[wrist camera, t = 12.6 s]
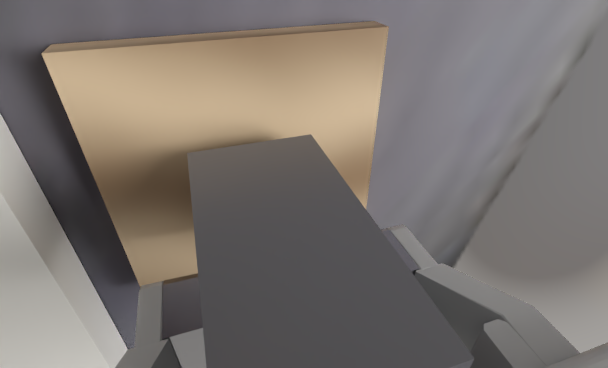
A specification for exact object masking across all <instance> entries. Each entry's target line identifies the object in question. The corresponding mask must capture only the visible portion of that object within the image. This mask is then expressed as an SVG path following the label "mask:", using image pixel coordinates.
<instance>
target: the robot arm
mask: <svg viewBox="0 0 608 368" xmlns="http://www.w3.org/2000/svg"><path fill="white" fill-rule="evenodd" d="M381 231H382V232H383V234H384V235H385V236H386V238H387V239H388V241H389V242H390V243H391V245H392V246H393V247H394V249H395V250H396V252H397V253H398V254H399V256H400V257H401V258H402V260H403V261H404V263H405V264H406V265H407V267H408V268H409V269H410V271H411V272H412V274H413V275H414V276H415V278H416V279H417V280H418V282H419V283H420V284H421V286H422V287H423V289H424V290H425V291H426V293H427V294H428V295H429V297H430V298H431V300H432V301H433V302H434V304H435V305H436V306H437V308H438V309H439V311H440V312H441V313H442V315H443V316H444V317H445V319H446V320H447V322H448V323H449V324H450V326H451V327H452V328H453V330H454V331H455V332H456V334H457V335H458V337H459V338H460V339H461V341H462V342H463V343H464V345H465V346H466V348H467V349H468V350H469V352H470V353H471V354H472V356H473V357H474V361H473V363H472V365H471V366H470V368H608V343H605V344H603V345H600V346H598V347H595V348H593V349H590V350H588V351H585V352H583V353H579V352H578V351H577V350H576V349H575V348H574V347H573V346H572V345H571V344H570V343H569V341H567V340H566V338H565V337H563V336H562V335H561V334H560V332H559V331H558V330H556V329H555V327H554V326H552V324H550V322H549V321H548V320H547V319H546V318H545V317H544V316H543V315H542V314H541V313H540V312H539V311H538V310H537V309H536V308H535V307H534V306H532V305H530V304H528V303H526V302H524V301H521V300H519V299H517V298H515V297H513V296H511V295H509V294H507V293H505V292H502V291H500V290H498V289H496V288H494V287H492V286H490V285H488V284H485V283H483V282H481V281H479V280H477V279H474V278H473V277H470V276H468V275H466V274H464V273H462V272H460V271H458V270H456V269H454V268H451V267H449V266H447V265H445V264H443V263H442V264H437V263H436V262H435V260H434V259H433V258H432V257H431V256H430V254H429V253H428V252H427V251H426V250H425V248H424V247H423V246H422V245H421V244H420V243H419V241H418V240H417V239H416V238H415V237H414V235H413V234H412V233H411V232H410V231H409V229H408V228H407V227H406V226H404V225H398V226H394V227H390V228H386V229H381ZM115 368H206V356H205V345H204V334H203V323H202V312H201V301H200V290H199V279H198V273H197V274H192V275H187V276H182V277H178V278H173V279H168V280H164V281H160V282H155V283H151V284H146V285H142V286H141V288H140V291H139V299H138V312H137V324H136V336H135V348H132V349H129V350H127V351H126V353H125V354H124V355H123V357H122V358H121V360H120V361H119V363H118V364H117V365H116V367H115Z"/></svg>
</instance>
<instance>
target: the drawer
mask: <svg viewBox="0 0 608 368" xmlns="http://www.w3.org/2000/svg"><path fill="white" fill-rule="evenodd" d="M187 158H188V169H189V180H190V191H191V202H192V213H193V224H194V235H195V246H196V257H197V268H198V279H199V290H200V301H201V312H202V323H203V334H204V345H205V356H206V368H470V366H471V365H472V363H473V361H474V357H473V356H472V354H471V353H470V352H469V350H468V349H467V348H466V346H465V345H464V343H463V342H462V341H461V339H460V338H459V337H458V335H457V334H456V332H455V331H454V330H453V328H452V327H451V326H450V324H449V323H448V322H447V320H446V319H445V317H444V316H443V315H442V313H441V312H440V311H439V309H438V308H437V306H436V305H435V304H434V302H433V301H432V300H431V298H430V297H429V295H428V294H427V293H426V291H425V290H424V289H423V287H422V286H421V284H420V283H419V282H418V280H417V279H416V278H415V276H414V275H413V274H412V272H411V271H410V269H409V268H408V267H407V265H406V264H405V263H404V261H403V260H402V258H401V257H400V256H399V254H398V253H397V252H396V250H395V249H394V247H393V246H392V245H391V243H390V242H389V241H388V239H387V238H386V236H385V235H384V234H383V232H382V231H381V230H380V228H379V227H378V225H377V224H376V223H375V221H374V220H373V219H372V217H371V216H370V215H369V213H368V212H367V210H366V209H365V208H364V206H363V205H362V204H361V202H360V201H359V199H358V198H357V197H356V195H355V194H354V193H353V191H352V190H351V188H350V187H349V186H348V184H347V183H346V182H345V180H344V179H343V177H342V176H341V175H340V173H339V172H338V171H337V169H336V168H335V166H334V165H333V164H332V162H331V161H330V160H329V158H328V157H327V156H326V154H325V153H324V151H323V150H322V149H321V147H320V146H319V145H318V143H317V142H316V140H315V139H314V138H313V136H312V135H311V134H309V135H303V136H296V137H289V138H283V139H276V140H270V141H263V142H256V143H250V144H243V145H237V146H230V147H223V148H217V149H210V150H204V151H197V152H190V153H187Z"/></svg>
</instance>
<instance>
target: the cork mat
mask: <svg viewBox="0 0 608 368" xmlns="http://www.w3.org/2000/svg"><path fill="white" fill-rule="evenodd" d="M388 28H389V27H388V26H385V25H383V24H380V23H378V22H375V21H370V22H356V23H342V24H328V25H314V26H300V27H286V28H272V29H258V30H244V31H230V32H216V33H202V34H188V35H174V36H160V37H146V38H132V39H118V40H104V41H90V42H76V43H62V44H51V45H50V46H49V47H48V48H47V49H46V50H45V51H43V52H42V53H41V54H42V56H43V59H44V61H45V63H46V66H47V68H48V70H49V73H50V75H51V77H52V80H53V82H54V85H55V87H56V89H57V92H58V94H59V96H60V99H61V101H62V103H63V106H64V108H65V111H66V113H67V115H68V118H69V120H70V122H71V125H72V127H73V129H74V132H75V134H76V137H77V139H78V141H79V144H80V146H81V148H82V151H83V153H84V155H85V158H86V160H87V163H88V165H89V167H90V170H91V172H92V174H93V177H94V179H95V181H96V184H97V186H98V189H99V191H100V193H101V196H102V198H103V200H104V203H105V205H106V207H107V210H108V212H109V215H110V217H111V219H112V222H113V224H114V226H115V229H116V231H117V233H118V236H119V238H120V241H121V243H122V245H123V248H124V250H125V252H126V255H127V257H128V259H129V262H130V264H131V267H132V269H133V271H134V274H135V276H136V278H137V281H138V283H139V285H140V288H141V286H142V285H146V284H151V283H155V282H160V281H164V280H168V279H173V278H178V277H182V276H187V275H192V274H197V273H198V268H197V257H196V246H195V235H194V224H193V213H192V202H191V191H190V180H189V169H188V158H187V153H190V152H197V151H204V150H210V149H217V148H223V147H230V146H237V145H243V144H250V143H256V142H263V141H270V140H276V139H283V138H289V137H296V136H303V135H309V134H311V135H312V136H313V138H314V139H315V140H316V142H317V143H318V145H319V146H320V147H321V149H322V150H323V151H324V153H325V154H326V156H327V157H328V158H329V160H330V161H331V162H332V164H333V165H334V166H335V168H336V169H337V171H338V172H339V173H340V175H341V176H342V177H343V179H344V180H345V182H346V183H347V184H348V186H349V187H350V188H351V190H352V191H353V193H354V194H355V195H356V197H357V198H358V199H359V201H360V202H361V204H362V205H363V206H364V208H365V209H366V205H367V197H368V189H369V181H370V173H371V165H372V157H373V149H374V141H375V132H376V124H377V116H378V108H379V100H380V92H381V84H382V76H383V68H384V60H385V52H386V44H387V36H388Z"/></svg>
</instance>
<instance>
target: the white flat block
mask: <svg viewBox="0 0 608 368" xmlns="http://www.w3.org/2000/svg"><path fill="white" fill-rule="evenodd" d="M127 350H128V349H127V347H126V345H125V343H124V342H123V340H122V338H121V336H120V334H119V332H118V330H117V329H116V327H115V325H114V323H113V321H112V319H111V318H110V316H109V314H108V312H107V310H106V308H105V306H104V305H103V303H102V301H101V299H100V297H99V295H98V293H97V292H96V290H95V288H94V286H93V284H92V282H91V280H90V279H89V277H88V275H87V273H86V271H85V269H84V268H83V266H82V264H81V262H80V260H79V258H78V256H77V255H76V253H75V251H74V249H73V247H72V245H71V243H70V242H69V240H68V238H67V236H66V234H65V232H64V230H63V229H62V227H61V225H60V223H59V221H58V219H57V218H56V216H55V214H54V212H53V210H52V208H51V206H50V205H49V203H48V201H47V199H46V197H45V195H44V193H43V192H42V190H41V188H40V186H39V184H38V182H37V180H36V179H35V177H34V175H33V173H32V171H31V169H30V168H29V166H28V164H27V162H26V160H25V158H24V156H23V155H22V153H21V151H20V149H19V147H18V145H17V143H16V142H15V140H14V138H13V136H12V134H11V132H10V130H9V129H8V127H7V125H6V123H5V121H4V119H3V118H2V116H1V114H0V368H115V367H116V365H117V364H118V363H119V361H120V360H121V358H122V357H123V355H124V354H125V353H126V351H127Z"/></svg>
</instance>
